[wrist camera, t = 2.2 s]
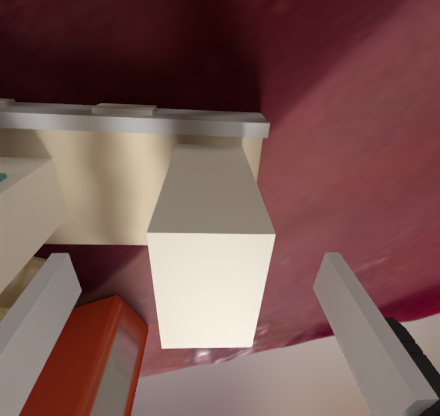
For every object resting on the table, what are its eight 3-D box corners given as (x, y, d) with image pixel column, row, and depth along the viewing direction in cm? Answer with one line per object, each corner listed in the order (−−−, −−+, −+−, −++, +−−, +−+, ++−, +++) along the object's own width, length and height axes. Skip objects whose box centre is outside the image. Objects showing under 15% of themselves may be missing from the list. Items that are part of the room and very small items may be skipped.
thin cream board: (261, 108, 20) (270, 118, 17) (245, 233, 26) (249, 256, 23) (-64, 93, 18) (-118, 101, 15) (5, 230, 25) (-23, 254, 22)
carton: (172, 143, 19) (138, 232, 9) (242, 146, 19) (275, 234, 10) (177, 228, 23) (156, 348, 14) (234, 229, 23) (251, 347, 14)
